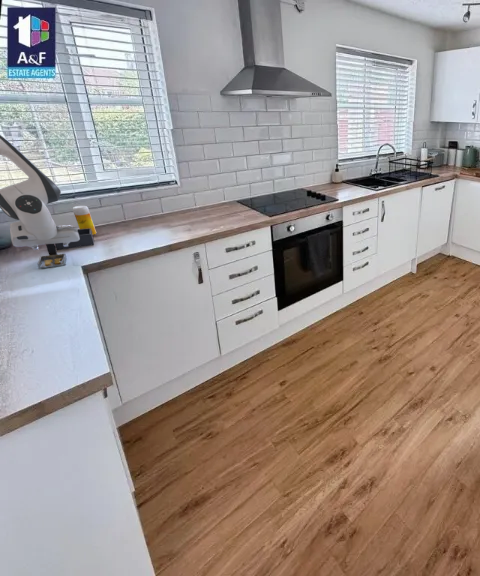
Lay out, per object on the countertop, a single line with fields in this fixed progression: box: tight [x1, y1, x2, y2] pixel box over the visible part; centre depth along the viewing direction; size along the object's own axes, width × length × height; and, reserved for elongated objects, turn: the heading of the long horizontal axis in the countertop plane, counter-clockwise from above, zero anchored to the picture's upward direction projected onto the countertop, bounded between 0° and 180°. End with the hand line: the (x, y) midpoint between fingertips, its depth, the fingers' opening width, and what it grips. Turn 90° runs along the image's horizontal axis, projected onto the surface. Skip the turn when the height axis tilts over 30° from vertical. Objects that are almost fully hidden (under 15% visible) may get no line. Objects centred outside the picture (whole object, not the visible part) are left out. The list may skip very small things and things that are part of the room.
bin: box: [54, 228, 95, 251], centre depth 169 cm, size 13×13×6 cm
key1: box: [44, 260, 52, 265], centre depth 147 cm, size 6×2×1 cm, turn 37°
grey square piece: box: [37, 244, 67, 269], centre depth 148 cm, size 13×8×9 cm, turn 36°
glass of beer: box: [72, 205, 97, 236], centre depth 183 cm, size 6×6×15 cm
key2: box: [54, 258, 62, 264], centre depth 149 cm, size 6×2×1 cm, turn 37°
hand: (51, 246), depth 152 cm, fingers open, 8 cm apart
